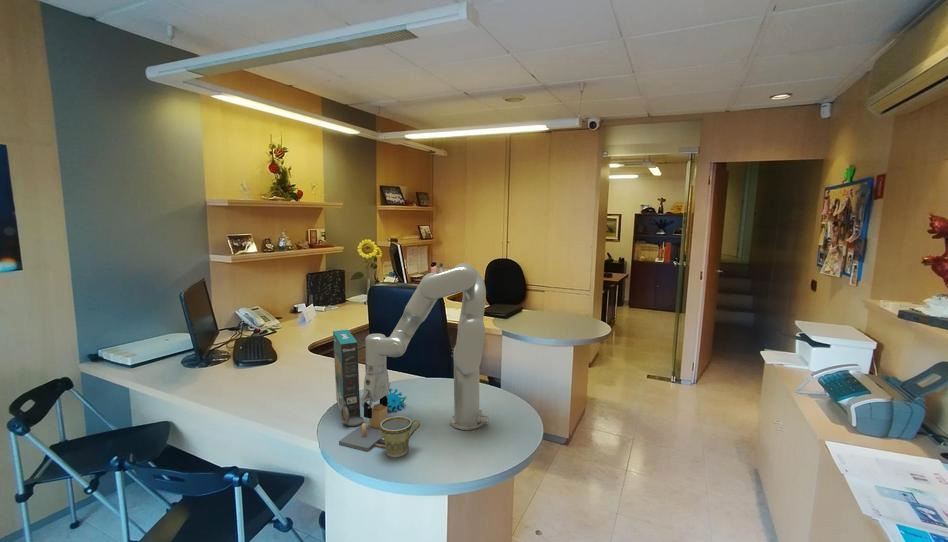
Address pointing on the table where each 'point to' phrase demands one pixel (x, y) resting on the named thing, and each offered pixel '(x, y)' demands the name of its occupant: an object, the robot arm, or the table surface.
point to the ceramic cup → (397, 434)
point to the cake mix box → (346, 371)
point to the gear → (395, 400)
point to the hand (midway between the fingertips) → (375, 412)
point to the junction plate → (363, 438)
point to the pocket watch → (350, 421)
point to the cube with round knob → (378, 415)
